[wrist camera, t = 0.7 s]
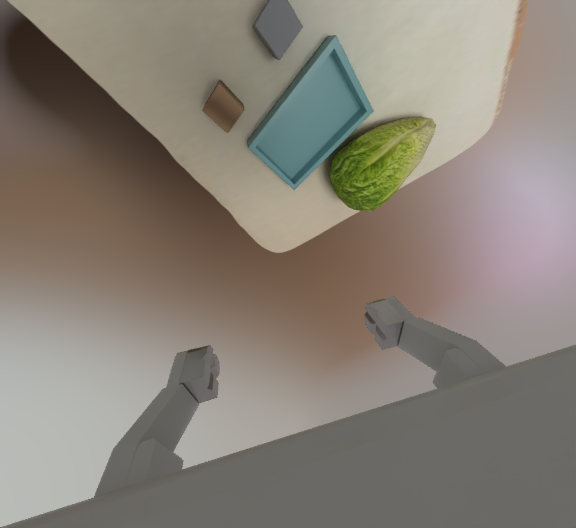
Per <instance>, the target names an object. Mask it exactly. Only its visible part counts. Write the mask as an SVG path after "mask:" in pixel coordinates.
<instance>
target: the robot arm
mask: <svg viewBox="0 0 576 528" xmlns="http://www.w3.org/2000/svg"><path fill="white" fill-rule="evenodd" d="M365 309H366V311H367V312H366V313H365V315H364V320H365V324H366V326H367V328H368V330H369V331H370V332H371V333H373V334H375V340H376V341H377V343H378V344H379V346H380V347H381V349H382V350H383V349H387V348H391V347H395V346H398V347H399V348H401V349H402V350H404V351H406V352H407V353H409V354H410V355H412V356H413V357H415V358H416V359H418V360H420V361H421V362H423V363H424V364H426V365H427V366H429V367H431V368H432V369H434V370H435V371H437V373H436V375H435V377H434V380H433V383H434V385H435V386H436V387H437V389H435V390H431V391H428V392H425V393H422V394H419V395H416V396H412V397H409V398H406V399H403V400H400V401H397V402H393V403H390V404H387V405H384V406H381V407H378V408H375V409H371V410H368V411H365V412H362V413H359V414H356V415H353V416H350V417H346V418H343V419H340V420H337V421H334V422H331V423H328V424H324V425H321V426H318V427H315V428H312V429H308V430H305V431H302V432H299V433H296V434H293V435H290V436H286V437H283V438H280V439H277V440H274V441H271V442H268V443H264V444H261V445H258V446H255V447H252V448H249V449H245V450H242V451H239V452H236V453H233V454H230V455H227V456H223V457H220V458H217V459H214V460H211V461H208V462H205V463H201V464H198V465H196V466H192V467H189V468H186V469H182V467H183V460H182V459H181V458H180V457H179V456H178V455H176V454H175V453H173V451H174V449H175V448H176V445H177V444H178V442H179V440H180V438H181V437H182V435H183V433H184V431H185V429H186V428H187V426H188V424H189V422H190V420H191V418H192V417H193V415H194V413H195V411H196V409H197V408H198V406H199V403H201V402H205V401H208V400H211V399H214V398H217V395H218V381H217V380H216V378H217V377H218V375H219V360H218V357H217V355H216V354H213V349H212V347H211V346H210V345H208V346H204V347H200V348H196V349H191V350H188V351H184V352H180V353H177V355H176V356H175V359H174V362H173V366H172V369H171V373H170V376H169V380H168V384H167V387H166V388H164V389H162V390H161V392H160V393H159V394H158V396H157V397H156V398H155V399H154V400H153V401H152V403H151V404H150V405H149V406H148V407H147V409H146V410H145V411H144V412H143V413H142V415H141V416H140V417H139V418H138V419H137V421H136V422H135V423H134V424H133V426H132V427H131V428H130V429H129V431H128V432H127V433H126V434H125V435H124V437H123V438H122V439H121V440H120V441H119V443H118V444H117V445H116V446H115V448H114V449H113V451H112V453H111V456H110V458H109V461H108V463H107V466H106V469H105V471H104V473H103V476H102V478H101V481H100V483H99V486H98V488H97V491H96V493H95V496H94V498H91V499H88V500H85V501H82V502H79V503H76V504H72V505H69V506H66V507H63V508H60V509H57V510H54V511H50V512H47V513H44V514H41V515H38V516H35V517H32V518H28V519H25V520H22V521H19V522H16V523H13V524H10V525H7V526H3V527H0V528H576V345H573V346H570V347H567V348H564V349H561V350H557V351H555V352H551V353H548V354H545V355H542V356H539V357H535V358H532V359H529V360H526V361H523V362H520V363H516V364H513V365H510V366H507V367H506V366H505V365H504V364H503V363H502V362H500V361H499V360H498V359H497V358H496V357H494V356H493V355H492V354H491V353H490V352H489V351H488V350H486V349H485V348H484V347H483V346H482V345H480V344H479V343H478V342H477V341H475V340H473V339H471V338H468V337H466V336H463V335H461V334H458V333H456V332H454V331H451V330H448V329H446V328H444V327H441V326H439V325H436V324H434V323H432V322H429V321H427V320H424V319H422V318H416V317H415V316H414V315H413V314H412V313H411V312H410V311H409V310H408V309H407V308H406V307H405V306H404V305H403V304H402V303H401V302H400V301H399V300H398V299H397V298H396V297H394V296H393V297H389V298H385V299H381V300H377V301H373V302H370V303H367V304H366V305H365Z"/></svg>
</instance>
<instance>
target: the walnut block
mask: <svg viewBox="0 0 576 528" xmlns="http://www.w3.org/2000/svg"><path fill="white" fill-rule="evenodd" d="M203 111H204V112H205V113H206V114H207V115H208V116H209V117H210V118H211V119H212V120H213V121H214V122H216V123H217V124H218V125H219V126H220V127H221V128H222V129H223V130H224V131H225V132H227V133H228V132H229V131H230V129H231V128H232V127H233V125H234V124H235V122H236V121H237V119H238V118H239V117H240V115H241V114H242V112H243V111H244V106H243V104H242V103H241V101H240V100H239V99H238V98H237V97H236V96H235V95H234V94H233V93H232V92H231V91H230V90H229V89H228V87H227V86H226V85H225V84H224V83H223V82H222V81H221V80H220V81H219V82H218V84H217V86H216V87H215V89H214V91H213V92H212V94H211V96H210V97H209V99H208V101H207V102H206V104H205V106H204V108H203Z"/></svg>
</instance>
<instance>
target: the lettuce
mask: <svg viewBox="0 0 576 528" xmlns="http://www.w3.org/2000/svg"><path fill="white" fill-rule="evenodd" d="M435 127H436V124H435V122H434V121H433V119H431V118H426V117H414V118H406V119H401V120H397V121H393V122H390V123H387V124H384V125H381V126H378V127H376V128H374V129H372V130H370V131H368V132H367V133H365V134H363V135H361V136H359V137H357V138H355V139H354V140H353V141H351V142H350V143H349V144H348V145H346V146H345V147H344V148H343V149H341V150H340V151H339V152H338V153H337V155H336V156H335V157H334V158H333V161H332V164H331V169H330V173H329V178H330V180H331V183H332V185H333V188H334V191H335V193H336V194H337V196H338V197H339V198H340V199H341V200H342V201H343V202H344V203H345V204H346V205H347V206H348V207H349V208H352V209H354V210H360V211H373V210H375V209H376V208H378V207H380V206H381V205H382V204H384V203H385V202H386V201H387V200H388V199H389V198H390V197H392V196H393V195H394V194H395V193H396V191H397V190H398V189H399V187H400V186H401V185H402V183H403V182H404V181H405V179H406V178H407V177H408V176H409V175H410V174H411V172H412V171H413V170H414V169H415V168H416V166H417V165H418V164H419V163H420V161H421V160H422V158H423V156H424V154H425V152H426V150H427V147H428V145H429V143H430V141H431V139H432V137H433V135H434V132H435Z"/></svg>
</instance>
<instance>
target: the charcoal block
mask: <svg viewBox="0 0 576 528" xmlns="http://www.w3.org/2000/svg"><path fill="white" fill-rule="evenodd" d="M302 27H303V26H302V24H301V23H300V21H299V19H298V18H297V16H296V14H295V12H294V11H293V9H292V7H291V5H290V4H289V2H288V0H268V1H267V3H266V5H265V6H264V8H263V10H262V11H261V13H260V15H259V16H258V18H257V20H256V21H255V23H254V25H253V28H254V29H255V31H256V32H257V33H258V35H259V36H260V38H261V39H262V41H263V42H264V43H265V45H266V46H267V48H268V49H269V50H270V52H271V53H272V55H273V56H274V57H275V58H276V59H278V60H280V59H281V57H282V56H283V54H284V53H285V52H286V50H287V49H288V47H289V46H290V44H291V43H292V42H293V40H294V39H295V37H296V36H297V34H298V33H299V32H300V30H301V29H302Z"/></svg>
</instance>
